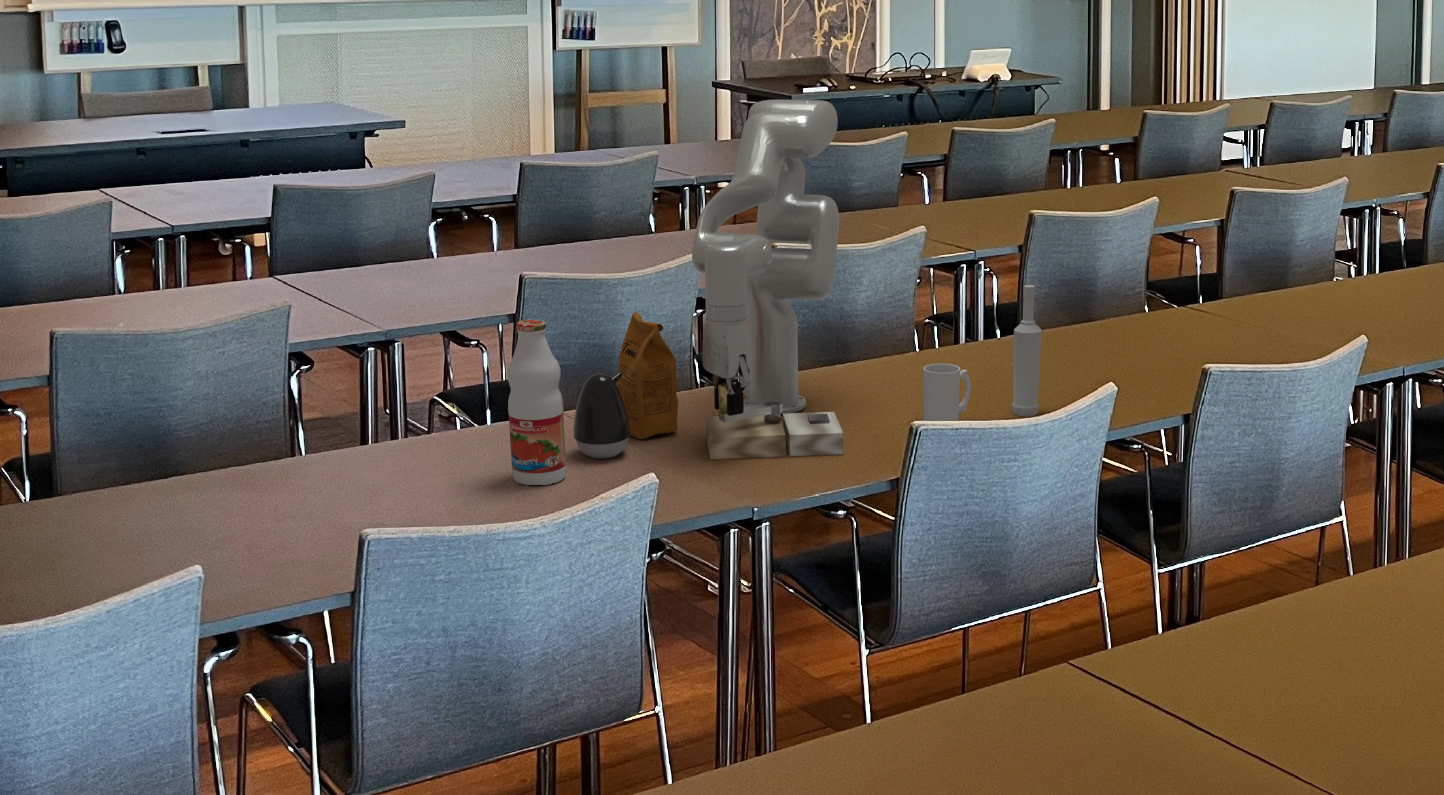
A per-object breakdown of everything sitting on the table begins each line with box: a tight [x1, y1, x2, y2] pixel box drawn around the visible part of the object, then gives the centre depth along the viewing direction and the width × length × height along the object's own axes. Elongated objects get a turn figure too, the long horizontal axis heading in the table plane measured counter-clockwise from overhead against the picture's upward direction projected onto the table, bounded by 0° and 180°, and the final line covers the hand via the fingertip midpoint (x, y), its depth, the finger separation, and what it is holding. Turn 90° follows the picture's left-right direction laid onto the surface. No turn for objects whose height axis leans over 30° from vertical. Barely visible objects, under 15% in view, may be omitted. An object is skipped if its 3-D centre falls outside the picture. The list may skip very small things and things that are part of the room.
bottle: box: [1011, 284, 1043, 417], centre depth 316 cm, size 5×5×25 cm
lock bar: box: [717, 382, 783, 423], centre depth 301 cm, size 12×4×8 cm, turn 118°
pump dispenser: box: [572, 371, 631, 460], centre depth 299 cm, size 10×10×15 cm
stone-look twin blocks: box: [705, 411, 844, 460], centre depth 303 cm, size 24×13×5 cm, turn 93°
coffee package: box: [616, 311, 679, 440], centre depth 312 cm, size 10×12×22 cm
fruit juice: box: [506, 318, 567, 486], centre depth 285 cm, size 9×9×28 cm
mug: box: [922, 363, 972, 422], centre depth 310 cm, size 10×7×12 cm, turn 118°
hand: (729, 410), depth 299 cm, fingers closed on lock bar, 3 cm apart
